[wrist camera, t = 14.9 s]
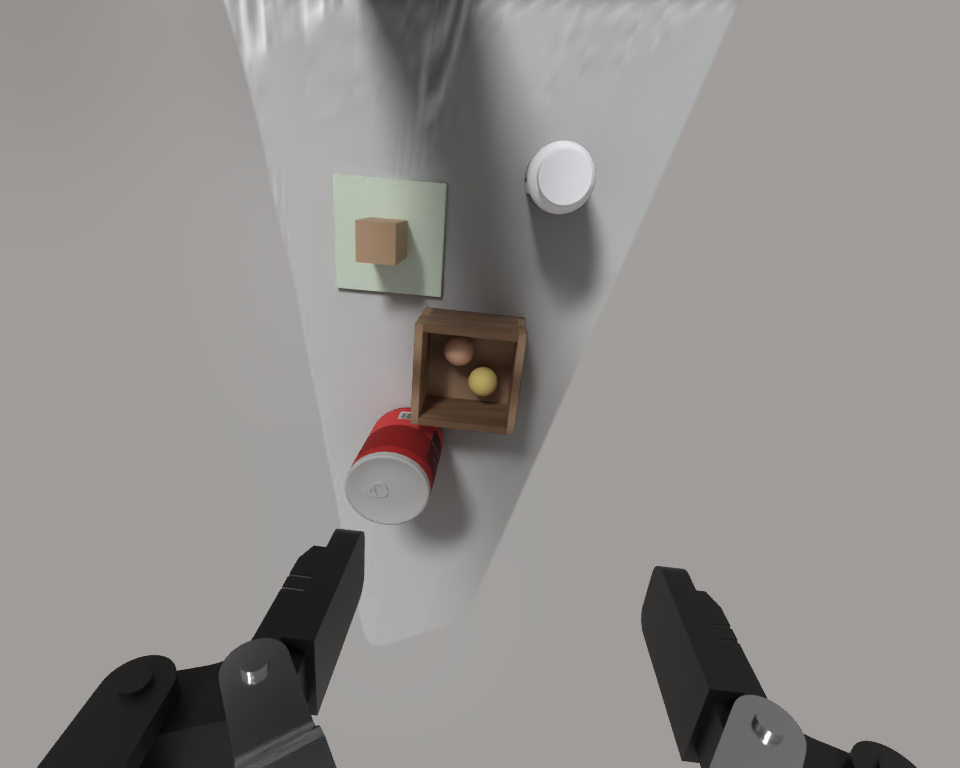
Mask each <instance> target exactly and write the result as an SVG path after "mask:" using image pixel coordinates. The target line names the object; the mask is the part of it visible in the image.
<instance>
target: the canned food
mask: <svg viewBox="0 0 960 768" xmlns="http://www.w3.org/2000/svg"><path fill="white" fill-rule="evenodd" d="M410 421H411V408H399V409H395V410H393V411H391V412H388V413H386V414H385V415H384V416H382V417H381V418H380V419H379V420H378V421H377V423H376V424H375V426H374V428H373V430H372V431H371V433H370V435H369V437H368V438H367V440H366V442H365V443H364V445H363V447H362V449H361V450H360V452H359V454H358V456H357V457H356V459H355V461H354V463H353V464H352V466H351V468H350V470H349V472H348V474H347V477H346V481H345V493H346V497H347V499H348V501H349V503H350V505H351V506H352V507H353V509H354V510H355V511H356V512H357V513H358V514H360V515H361V516H363V517H364V518H366V519H368V520H370V521H372V522H376V523H379V524H386V525H395V524H401V523H405V522H408V521H410V520H412V519H414V518H415V517H417V516H418V515H419V514H420V513H421V512H422V511H423V510H424V508H425V507H426V505H427V503H428V500H429V497H430V494H431V491H432V487H433V483H434V479H435V475H436V471H437V467H438V463H439V459H440V455H441V450H442V446H443V436H442V433H441V430H440V427H434V426H425V425H416V424H410Z"/></svg>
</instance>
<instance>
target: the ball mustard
mask: <svg viewBox="0 0 960 768" xmlns="http://www.w3.org/2000/svg"><path fill="white" fill-rule="evenodd" d="M468 384H469V387H470V389H471V391H472V392H473V393H474V394H476V395H478V396H488V395H490V394H491V393H493V392H494V391H495V389H496V387H497V384H498V380H497V376H496V374H495V372H494V371H493V370H491V369H490V368H487V367H479V368H476V369H475V370H473V371H472V372H471V374H470V376H469V379H468Z"/></svg>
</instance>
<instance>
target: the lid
mask: <svg viewBox="0 0 960 768" xmlns="http://www.w3.org/2000/svg"><path fill="white" fill-rule="evenodd" d="M446 193H447V183H436V182H424V181H412V180H401V179H389V178H378V177H366V176H355V175H343V174H333V199H334V233H335V267H336V288H347V289H358V290H369V291H379V292H390V293H401V294H412V295H423V296H434V297H441V290H442V270H443V251H444V231H445V212H446Z"/></svg>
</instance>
